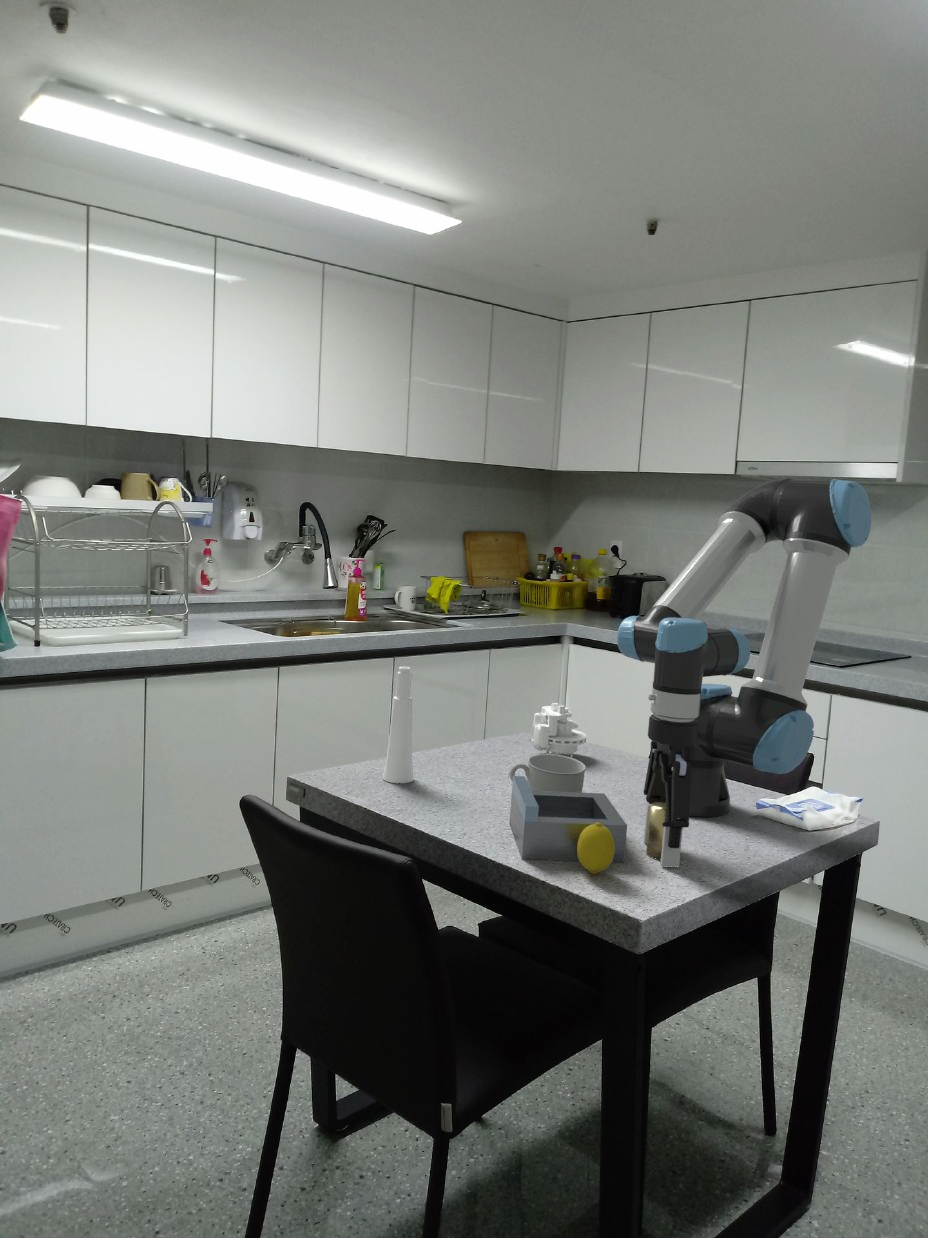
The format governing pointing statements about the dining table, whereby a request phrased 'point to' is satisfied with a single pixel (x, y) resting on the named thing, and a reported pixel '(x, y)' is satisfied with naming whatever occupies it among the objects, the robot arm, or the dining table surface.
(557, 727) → the mechanical part
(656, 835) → the brass cylinder
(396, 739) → the cosmetic bottle
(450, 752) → the dining table surface
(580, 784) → the teacup
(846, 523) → the robot arm
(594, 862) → the lemon
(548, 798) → the jig
